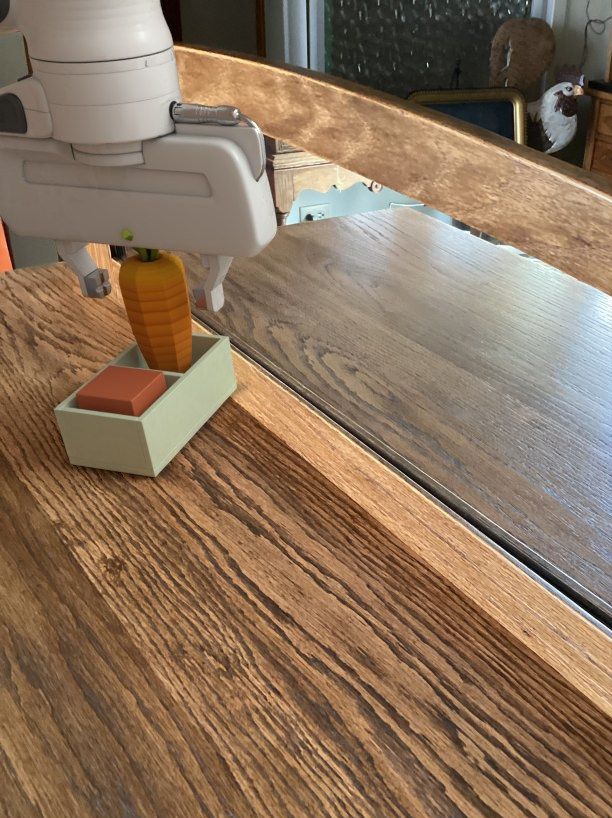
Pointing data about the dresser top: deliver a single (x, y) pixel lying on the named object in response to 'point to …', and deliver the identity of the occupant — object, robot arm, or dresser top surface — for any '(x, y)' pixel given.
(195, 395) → the sorting tray
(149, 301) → the carrot
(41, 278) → the dresser top surface
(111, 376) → the terracotta block
